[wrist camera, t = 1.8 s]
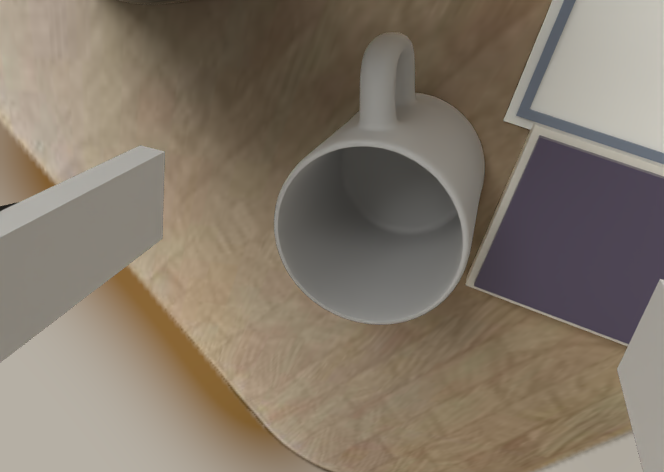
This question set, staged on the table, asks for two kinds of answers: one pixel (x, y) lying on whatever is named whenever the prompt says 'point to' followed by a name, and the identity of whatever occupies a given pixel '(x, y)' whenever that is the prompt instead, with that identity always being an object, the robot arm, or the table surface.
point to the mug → (384, 199)
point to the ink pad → (576, 234)
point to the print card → (598, 75)
